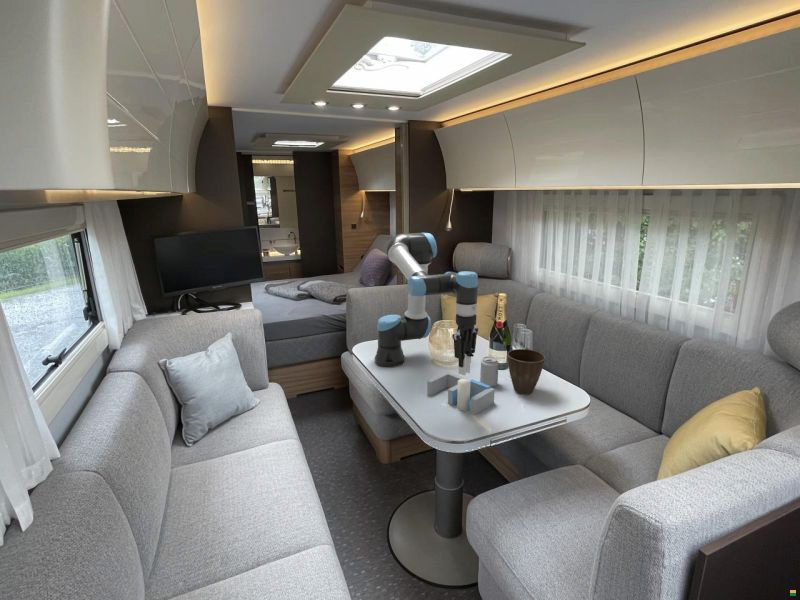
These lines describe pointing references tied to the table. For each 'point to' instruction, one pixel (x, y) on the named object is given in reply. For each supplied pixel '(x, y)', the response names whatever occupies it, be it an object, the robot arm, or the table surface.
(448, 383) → the folding screen
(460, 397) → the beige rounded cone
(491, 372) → the can
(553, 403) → the table surface
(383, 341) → the robot arm
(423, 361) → the table surface
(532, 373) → the plant pot
